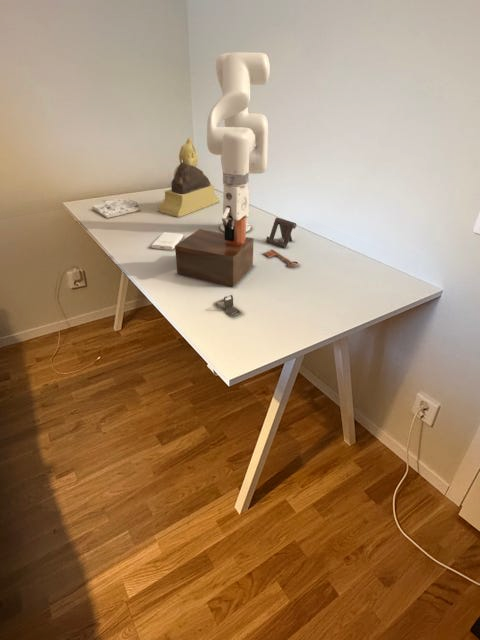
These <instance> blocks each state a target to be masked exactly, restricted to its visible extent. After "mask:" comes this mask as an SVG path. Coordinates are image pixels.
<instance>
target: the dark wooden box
mask: <svg viewBox="0 0 480 640" xmlns="http://www.w3.org/2000/svg"><path fill="white" fill-rule="evenodd" d="M254 240H255V238H253V237H248V236H246V241H245V243H243V244H240V245H231V244H228V243H226V242H225V235H224V232H221V231H214V230H209V229H203V228H198V229H197V230H196V231H194V232H193V233H192V234H190V235H188V236H187V237H185V238H184V239H182V240H180V242H179V243H178V244H177V245H175V247H174V252H175V263H176V274H177V275H178V276H183V277H187V278H190V279H191V278H192V279H195V280H196V279H197V280H201V281H205V282H208V283H209V282H210V283H214V284H219V285H222V286H227V287H232V288H234V287H235V286H236V285H237V284H238V283H239V282H240V281H241V279H242V278H243V277H244V276H246V274H247V273H248V272H250V270H251V269H252V268H253V266H254V242H255V241H254Z"/></svg>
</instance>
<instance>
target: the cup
mask: <svg viewBox="0 0 480 640" xmlns="http://www.w3.org/2000/svg"><path fill="white" fill-rule="evenodd" d="M229 218H233V217H229ZM228 222H230V224H231V222H232V221H229V220H228ZM233 228H234V229H235V240H234V241H228V240H225V242H226V243H228V244H231V245H240V244H243V243H245V241H246V237H247V232H246V216H244V217H243V218H241V219H240V220H239V221H236V220H235V223H234V227H233Z"/></svg>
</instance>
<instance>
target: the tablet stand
mask: <svg viewBox="0 0 480 640" xmlns="http://www.w3.org/2000/svg"><path fill="white" fill-rule="evenodd" d="M278 226H279V229H280V234H281V238H282V239H283V241H282V240H274V239H275V237H276V233H277V229H278ZM296 228H297V223H296V222H294V221H290V220H287V219H284V218H280V217H275V219H274V222H273V225H272V228H271V231H270V235H269V236H266V239H265V240H266V242H268V243H270V244H273V245H275V246H278V247H281V248H283V249H284V248H287V247H288V243H289V242H292V241H293V238H292V231H293V230H295V229H296Z"/></svg>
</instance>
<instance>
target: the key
mask: <svg viewBox="0 0 480 640" xmlns="http://www.w3.org/2000/svg"><path fill="white" fill-rule="evenodd" d="M263 255H264V256H266V257H267V258H272V257H275V256H278V257H279V258H281V259H282V260H283V261H285V262H287V266H288V267H289V268H295V267H298V266H299V262H298V261H291V260H290V259H288V258H287V257H285V256H283V255H282V254H280V253H279V252H277V251H275V250H274V249H270V250H269V251H266V252H263Z"/></svg>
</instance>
